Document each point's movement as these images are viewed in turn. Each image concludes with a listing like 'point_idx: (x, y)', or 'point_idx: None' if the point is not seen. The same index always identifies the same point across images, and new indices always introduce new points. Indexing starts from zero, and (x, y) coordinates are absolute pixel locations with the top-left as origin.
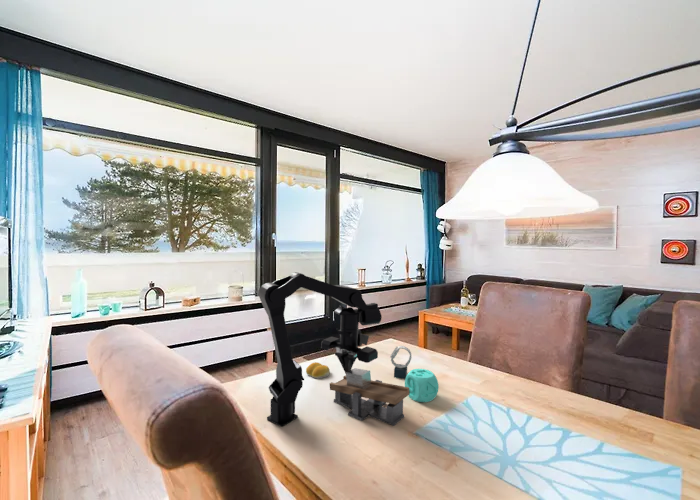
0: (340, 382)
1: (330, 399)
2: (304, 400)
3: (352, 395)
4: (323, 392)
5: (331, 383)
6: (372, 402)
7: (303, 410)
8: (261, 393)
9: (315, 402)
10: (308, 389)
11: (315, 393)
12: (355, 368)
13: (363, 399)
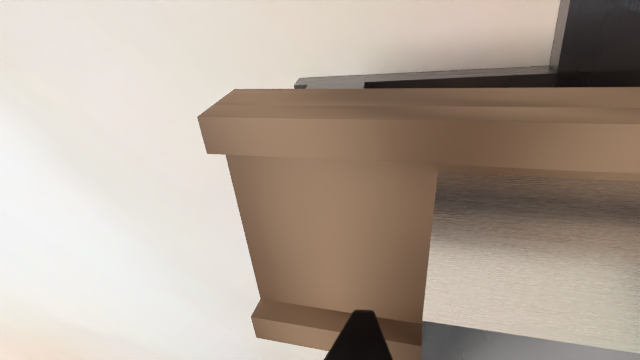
0: (282, 236)
1: None
2: (184, 287)
3: (379, 86)
4: (155, 156)
5: (273, 336)
6: (635, 67)
7: (272, 349)
8: (11, 336)
9: (242, 272)
10: (64, 186)
11: (140, 198)
12: (453, 337)
13: (516, 77)
